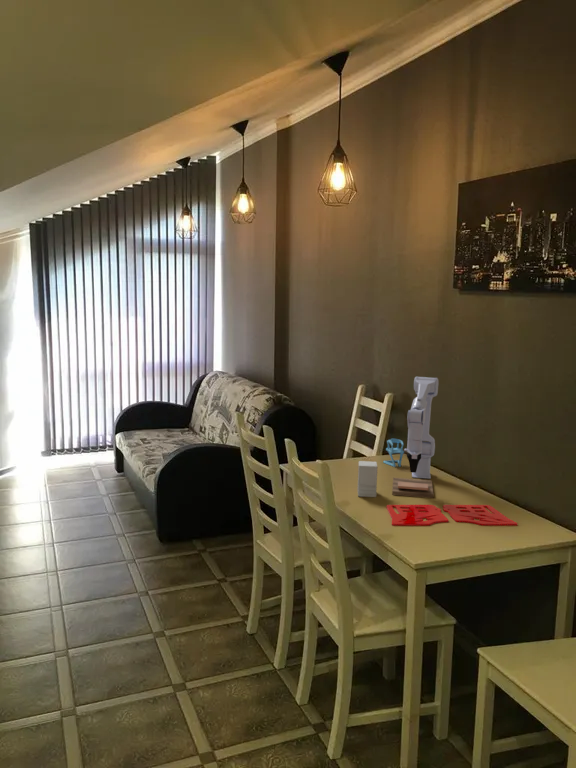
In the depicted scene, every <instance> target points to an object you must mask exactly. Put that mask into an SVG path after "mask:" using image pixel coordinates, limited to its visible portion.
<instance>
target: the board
mask: <svg viewBox="0 0 576 768" xmlns="http://www.w3.org/2000/svg"><path fill="white" fill-rule="evenodd" d="M398 482H409V483H422V484H428V490H416V489H403V488H398ZM433 487H434V486H433V480H430V479H419V478H415V479H413V478H403V477H393V478H392V492H391V494H392V495H393V496H394V495H395V496H403V497H404V496H406V497H416V498H418V497H419V498H429V499H434V489H433Z"/></svg>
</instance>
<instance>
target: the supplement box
mask: <svg viewBox="0 0 576 768" xmlns="http://www.w3.org/2000/svg"><path fill="white" fill-rule="evenodd" d="M357 468H358V471H357V472H358V474H357V475H358V476H357V496H358V497H364V498H365V497H366V498H376V497H377V490H378V489H377V488H378V487H377V483H378V462H377V461H371V460H370V461H366V460H359V461H358V467H357Z"/></svg>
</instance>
